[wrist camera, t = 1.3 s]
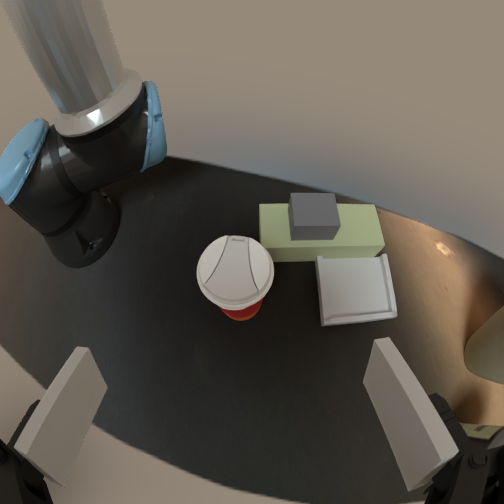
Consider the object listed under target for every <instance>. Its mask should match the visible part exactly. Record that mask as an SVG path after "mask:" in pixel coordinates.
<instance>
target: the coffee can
mask: <svg viewBox="0 0 504 504" xmlns="http://www.w3.org/2000/svg"><path fill="white" fill-rule="evenodd" d="M460 424H461V426H462V427H463V429H464V431H465V432H466V434H467V436H468V437H469V439H470V441H471V442H472V443H473V445H474V446H480V447H483V448H485V449H491V448H495V447H498V446H502V445H504V426H493V425H479V424H468V423H460Z"/></svg>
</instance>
